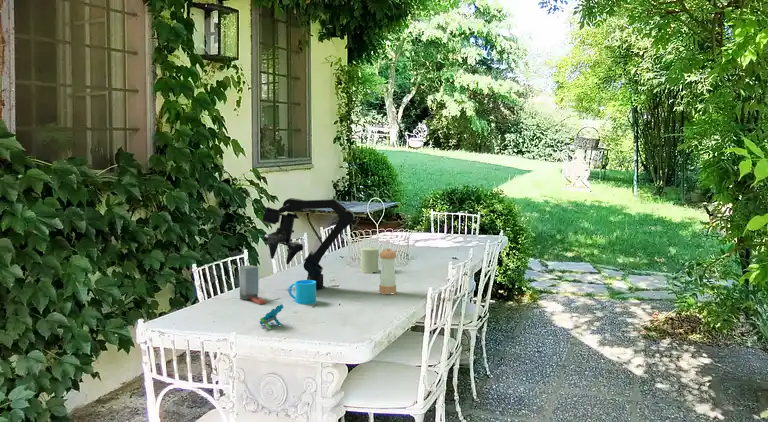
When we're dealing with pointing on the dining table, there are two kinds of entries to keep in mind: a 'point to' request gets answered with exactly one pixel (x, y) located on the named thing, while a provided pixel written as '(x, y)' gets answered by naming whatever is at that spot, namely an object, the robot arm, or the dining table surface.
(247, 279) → the grey blue box
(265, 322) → the teal plastic angular piece
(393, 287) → the salt shaker
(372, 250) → the can
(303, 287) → the mug
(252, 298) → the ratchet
